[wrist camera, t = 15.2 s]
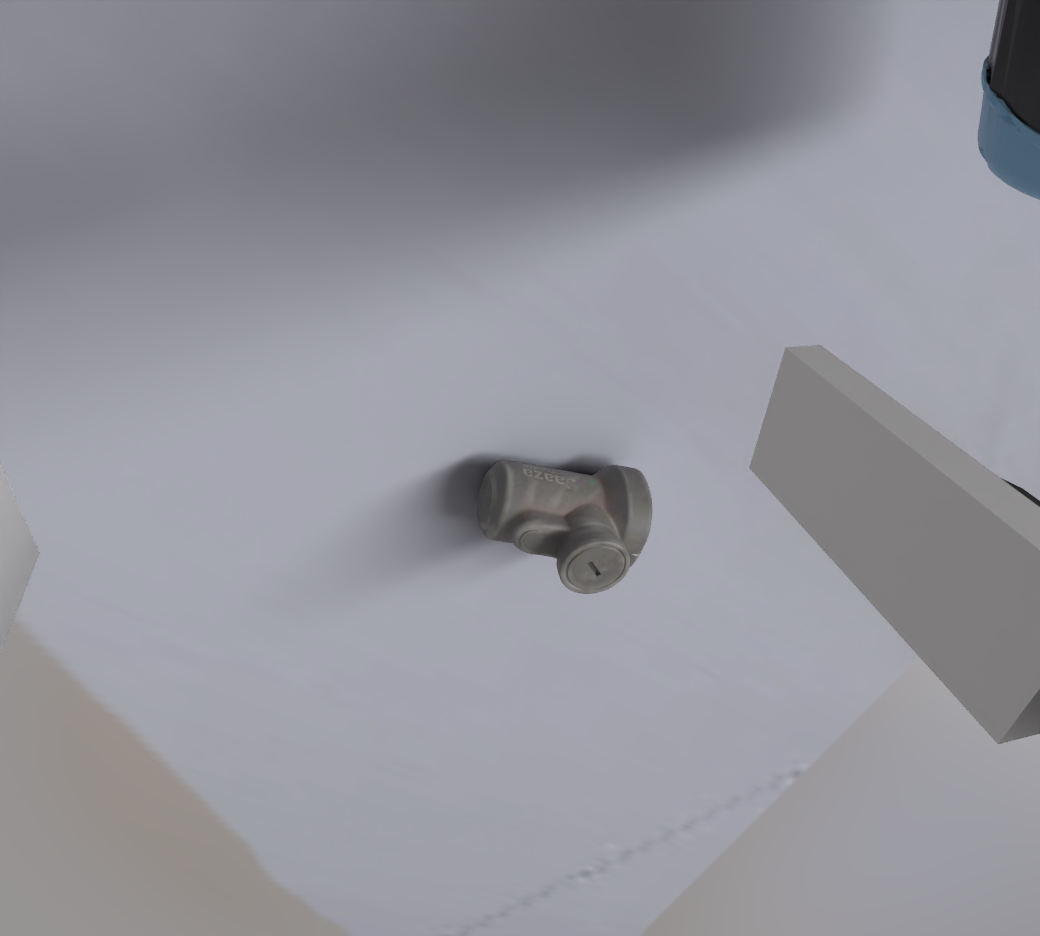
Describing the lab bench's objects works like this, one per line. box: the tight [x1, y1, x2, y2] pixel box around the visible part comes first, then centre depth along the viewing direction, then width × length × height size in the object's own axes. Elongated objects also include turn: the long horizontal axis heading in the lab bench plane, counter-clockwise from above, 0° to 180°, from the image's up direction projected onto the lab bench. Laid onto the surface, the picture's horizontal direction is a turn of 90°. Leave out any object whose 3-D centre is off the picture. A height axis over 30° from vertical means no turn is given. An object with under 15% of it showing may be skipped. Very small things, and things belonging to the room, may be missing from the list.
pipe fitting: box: [478, 460, 652, 594], centre depth 53 cm, size 12×8×10 cm
